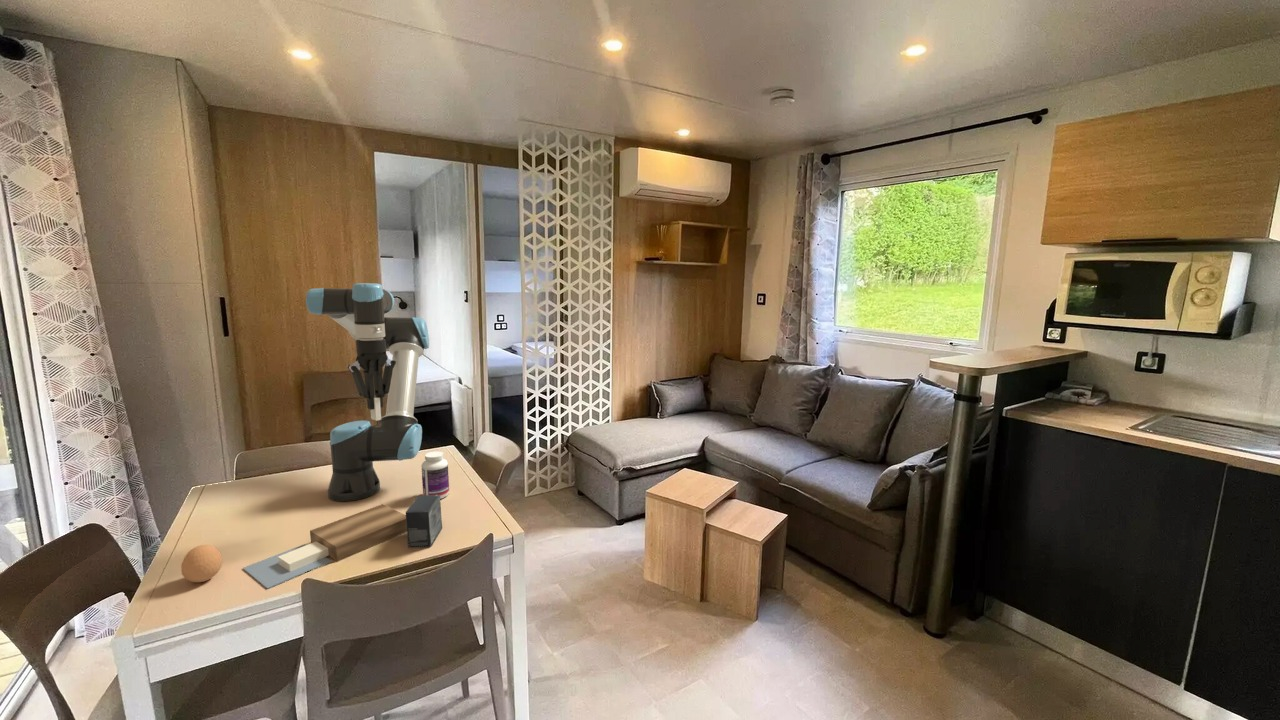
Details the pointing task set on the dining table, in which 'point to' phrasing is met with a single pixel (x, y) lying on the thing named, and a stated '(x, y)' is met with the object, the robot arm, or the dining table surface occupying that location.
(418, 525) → the small box
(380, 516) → the wooden block
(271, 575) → the mat
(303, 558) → the cream butter stick
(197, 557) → the egg
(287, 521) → the dining table surface
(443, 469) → the pill bottle
